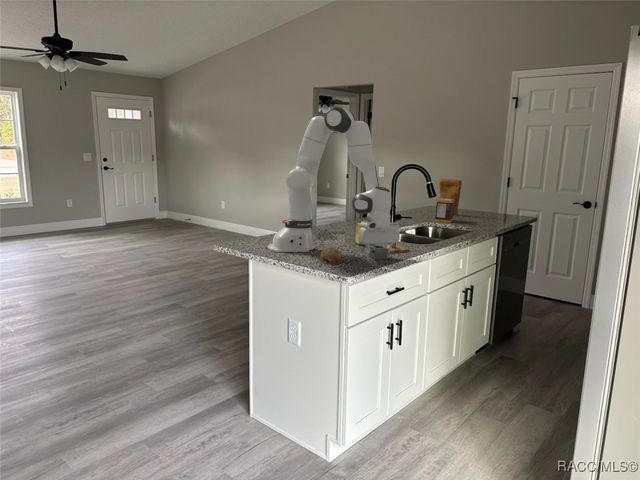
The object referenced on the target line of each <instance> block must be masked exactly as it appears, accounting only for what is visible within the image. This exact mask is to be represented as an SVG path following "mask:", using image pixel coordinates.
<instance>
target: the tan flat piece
mask: <svg viewBox="0 0 640 480" xmlns="http://www.w3.org/2000/svg"><path fill="white" fill-rule="evenodd" d="M383 246H384V247H387V246H388V244H387V245H383ZM396 253H397V254H398V253H400V254H401V253H410V249H409V248H407V247H404V246H401V245H398V244H397V242H395V243H392V246H391V248H390V252H388V254H396Z"/></svg>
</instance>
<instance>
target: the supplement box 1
mask: <svg viewBox="0 0 640 480" xmlns="http://www.w3.org/2000/svg"><path fill="white" fill-rule="evenodd" d="M360 223H361V222H356V226H355V228H356V229H355V244H356V245H358V246H365V244H361V243H359V241H358V235H359V230H360V228H361V227H362V226H361V225H360Z"/></svg>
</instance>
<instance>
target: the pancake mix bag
mask: <svg viewBox="0 0 640 480" xmlns="http://www.w3.org/2000/svg"><path fill="white" fill-rule="evenodd" d="M462 183H463V180H461V179H452V178H450V179H447V178H440V179H438V183H437V184H438V194H439V198H438V199H440V198H448V199H455V203H454V214H453V217H456V216H457V217H458V216H459V215H458V214H459V205H460V204H459V202H460V197H461V192H462Z"/></svg>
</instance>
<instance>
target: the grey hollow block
mask: <svg viewBox="0 0 640 480" xmlns="http://www.w3.org/2000/svg"><path fill="white" fill-rule="evenodd" d="M384 246H385V245H382V244H380V245H379V244H378V245H370V246H369V247H370V249H371V250H372V253H370V254H369V253H367V255H368V258H371V259H374V260H378V261H379V260H388V254H389V253H388V248H387V247H384Z"/></svg>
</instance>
